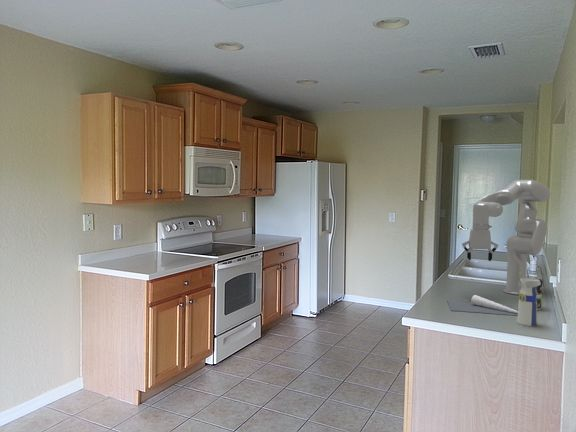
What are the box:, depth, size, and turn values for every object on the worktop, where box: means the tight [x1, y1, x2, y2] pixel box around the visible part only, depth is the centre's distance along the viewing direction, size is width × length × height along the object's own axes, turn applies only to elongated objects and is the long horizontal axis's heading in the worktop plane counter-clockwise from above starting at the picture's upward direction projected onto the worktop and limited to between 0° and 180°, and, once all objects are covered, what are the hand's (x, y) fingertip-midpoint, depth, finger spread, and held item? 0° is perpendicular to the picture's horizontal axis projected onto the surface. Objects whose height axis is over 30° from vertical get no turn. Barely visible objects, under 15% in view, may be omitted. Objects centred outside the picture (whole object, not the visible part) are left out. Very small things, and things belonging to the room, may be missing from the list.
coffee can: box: [517, 276, 544, 311], centre depth 224 cm, size 10×10×14 cm
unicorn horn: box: [470, 294, 518, 314], centre depth 219 cm, size 5×24×5 cm, turn 38°
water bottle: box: [516, 266, 541, 327], centre depth 198 cm, size 8×9×25 cm
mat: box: [447, 300, 518, 317], centre depth 222 cm, size 30×18×1 cm, turn 77°
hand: (479, 260), depth 236 cm, fingers open, 9 cm apart
